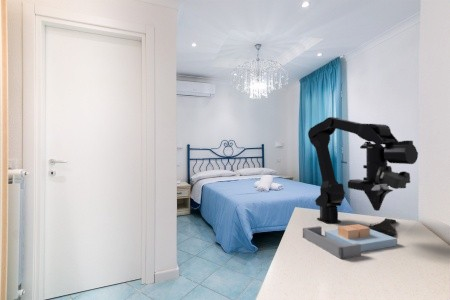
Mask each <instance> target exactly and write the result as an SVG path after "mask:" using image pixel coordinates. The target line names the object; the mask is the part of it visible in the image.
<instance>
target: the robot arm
mask: <svg viewBox="0 0 450 300" xmlns="http://www.w3.org/2000/svg"><path fill="white" fill-rule="evenodd" d="M336 130H340V131H344V132H349V133H352V134H354V135H356V136H358V137H359V138H360V139H362V140H365V142H364V143H363V144H362V145H360V149H366V150H365V151H366V153H365V154H366V155H365V157H366V164H364V165H362V166H363V167H362V168H363V169H365V170H366V173H365V174H366V175H365V176H366V177H365V176H364V177H363V179H359V178H358V179H357V178H355V179H349V180H348V181H347V189H351V190H357V191H362V192H364V194H365V195H366V197H367V199H368V201H369V203H370V204H371V206H372V209H373V210H374V211H376V212H377V211H380V209H381V207H382V204H383V202H384V199H385V197H386V196H387V195H388V194H389V193H391V192H393V191H394V190H393V189H395V190H398V189H407V184H411V176H410V175H411V174H410V173H409V172H407V171H400V172H394V171H393V170H392V169H393V167H392V166H391V165H388V163H390V164H399V165H402V164H403V165H413V164H416V162H417V160H418V156H419V152H418V150H417V147H416V146H415V145H414V140H400V141H399V140H398V139H397V137H395V136H394V134H393V133H392V131H391V128H390V126H389V125H387V124H380V123H379V124H378V123H361V122H356V121H351V120H346V119H342V118H339V117H335V116H334V117H333V116H331V117H326V118H325V119H324V120H323V121H321V122H318V123H316V124H315V125H313V126H312V127H310V129H309V130H308V131H307V136H308V139H309V141H310V144H311V145H312V146H313V147H314V148H315V153H316V156H317V162H318V165H319V171H320V176H321V185H320V188H319V193H320V194H319V196H317V198H316V199H315V200H314V201H315V206H318V207H319V217H317V218H316V220H318V221H321V222H323V223H325V224H334V223H336V224H337V223H341V221H342V220H340V219H339V211H338V207H341V206H342V203H343V201H344V199H345V195H346V192H345V189H344V185H343V183H339V182H338V181H337V179H336V176H335V171H334V167H333V163H332V157H331V154H330V150H329V144H330V142H331V135H333V134H334V133H335V132H336ZM383 145H384V146H383ZM390 188H392V189H390Z"/></svg>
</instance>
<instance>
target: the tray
mask: <svg viewBox="0 0 450 300" xmlns="http://www.w3.org/2000/svg"><path fill="white" fill-rule="evenodd" d="M322 228H323V227H322V226H321V225H319V226H318V225H317V226H310V227H302V238H304V239H305V240H307V241H308V242H310V243H312V244H314V245H315V246H318V247H319V248H321V249H322V250H325V251H326V252H328V253H330V254H331V255H333V256H335V257H337V258H338V259H340V260H344V259H349V258H355V257H360V256H362V251H361V244H359V243H357V244H351V245H342V244H340V243H338V242H336V241H334V240H332V239H330V238H328V237H326V236H325V234H323V233H322V232H323V230H322Z"/></svg>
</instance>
